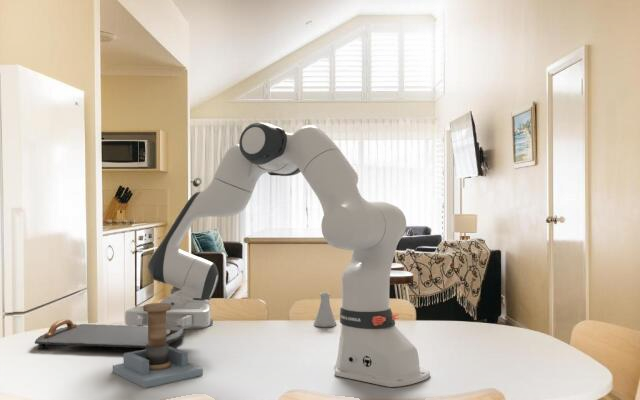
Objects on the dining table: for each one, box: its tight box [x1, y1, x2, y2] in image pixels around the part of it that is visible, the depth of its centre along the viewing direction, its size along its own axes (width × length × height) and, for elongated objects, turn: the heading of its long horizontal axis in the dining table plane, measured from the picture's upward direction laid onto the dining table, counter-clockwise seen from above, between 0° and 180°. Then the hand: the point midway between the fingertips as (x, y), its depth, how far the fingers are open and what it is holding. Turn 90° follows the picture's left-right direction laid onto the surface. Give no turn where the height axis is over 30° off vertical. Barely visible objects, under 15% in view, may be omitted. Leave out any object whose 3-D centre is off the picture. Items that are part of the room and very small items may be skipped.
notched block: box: [112, 345, 204, 389], centre depth 139 cm, size 16×14×4 cm
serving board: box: [34, 319, 186, 351], centre depth 169 cm, size 39×23×6 cm, turn 82°
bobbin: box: [143, 302, 171, 371], centre depth 139 cm, size 6×6×14 cm
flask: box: [313, 292, 338, 328], centre depth 192 cm, size 7×7×10 cm
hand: (159, 323), depth 141 cm, fingers open, 8 cm apart
